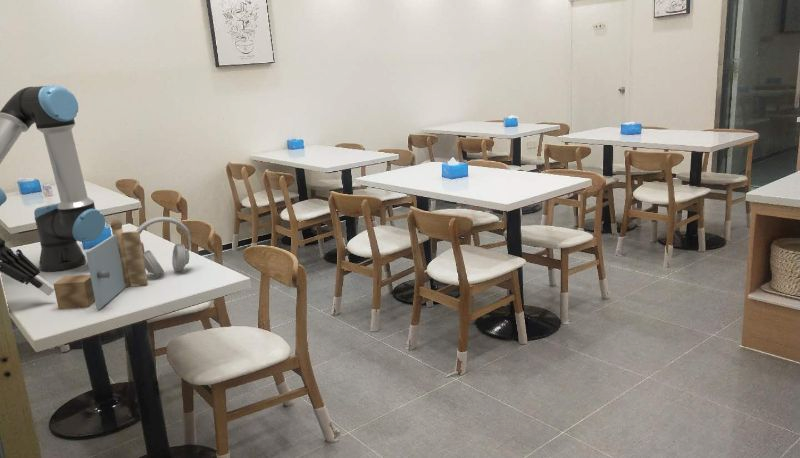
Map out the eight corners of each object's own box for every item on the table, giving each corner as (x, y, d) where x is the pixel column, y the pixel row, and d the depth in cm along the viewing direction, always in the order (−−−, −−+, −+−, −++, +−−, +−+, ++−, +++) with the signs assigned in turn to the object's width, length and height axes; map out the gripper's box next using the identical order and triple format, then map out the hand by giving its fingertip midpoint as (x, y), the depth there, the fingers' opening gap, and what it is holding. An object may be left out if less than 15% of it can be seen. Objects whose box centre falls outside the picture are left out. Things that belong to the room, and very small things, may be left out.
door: (96, 309, 178) (85, 251, 174) (122, 286, 197) (113, 234, 193) (109, 308, 178) (99, 251, 174) (134, 285, 197) (125, 233, 193)
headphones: (140, 283, 201) (130, 224, 196) (136, 276, 209) (126, 219, 204) (198, 271, 210) (189, 215, 205) (192, 265, 218) (184, 210, 213)
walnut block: (58, 309, 182) (53, 284, 180) (69, 300, 188) (64, 276, 187) (89, 307, 182) (84, 281, 180) (99, 298, 189) (94, 274, 187)
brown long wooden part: (119, 288, 197) (107, 221, 192) (123, 284, 201) (112, 219, 195) (145, 286, 198) (134, 220, 192) (148, 282, 201) (138, 217, 195)
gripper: (-10, 245, 189) (55, 293, 193) (-37, 258, 176) (33, 308, 181) (4, 228, 188) (69, 276, 192) (-23, 239, 175) (48, 290, 180)
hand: (52, 291), depth 186 cm, fingers closed
